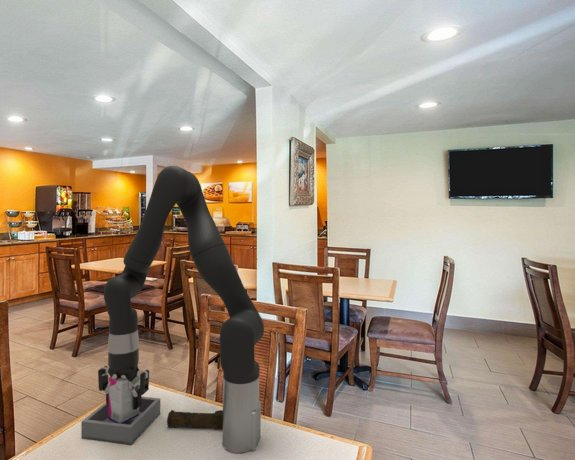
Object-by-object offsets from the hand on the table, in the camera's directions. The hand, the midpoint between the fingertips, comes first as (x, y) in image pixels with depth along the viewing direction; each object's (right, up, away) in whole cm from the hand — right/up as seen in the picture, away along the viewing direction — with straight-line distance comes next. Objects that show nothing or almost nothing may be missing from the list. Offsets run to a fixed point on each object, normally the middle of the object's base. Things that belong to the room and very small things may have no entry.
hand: (123, 406), depth 94 cm
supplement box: (0, -3, 0) cm, 3 cm away
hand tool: (+21, -6, +1) cm, 22 cm away
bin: (0, -5, 0) cm, 5 cm away
